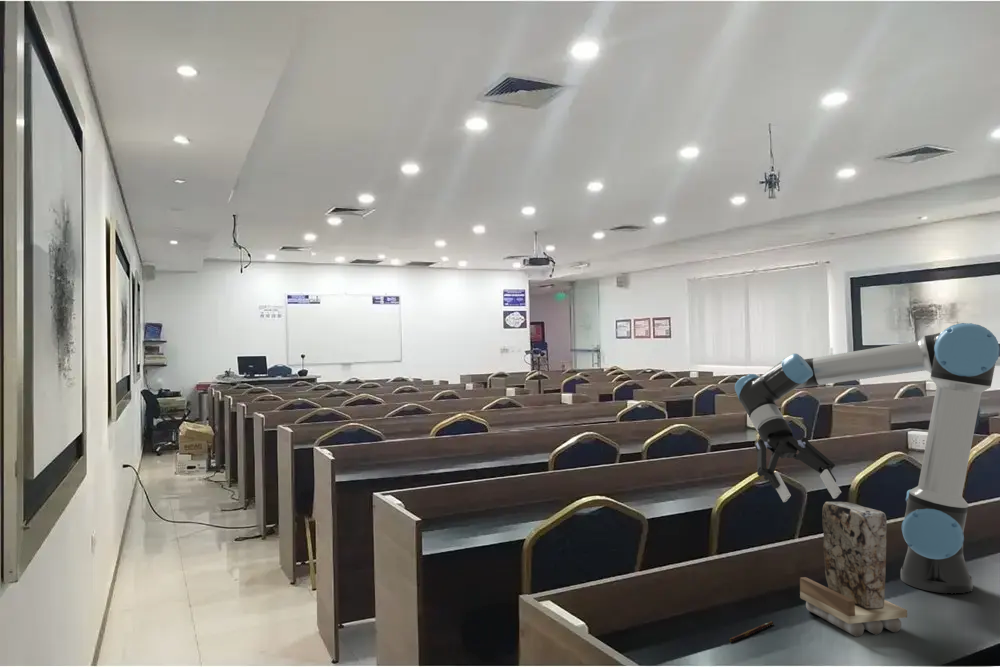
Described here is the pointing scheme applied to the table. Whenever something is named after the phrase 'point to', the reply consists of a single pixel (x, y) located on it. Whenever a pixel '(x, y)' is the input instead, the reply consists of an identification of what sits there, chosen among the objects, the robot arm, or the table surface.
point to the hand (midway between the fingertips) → (812, 497)
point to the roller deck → (849, 610)
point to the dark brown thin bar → (750, 632)
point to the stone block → (855, 552)
